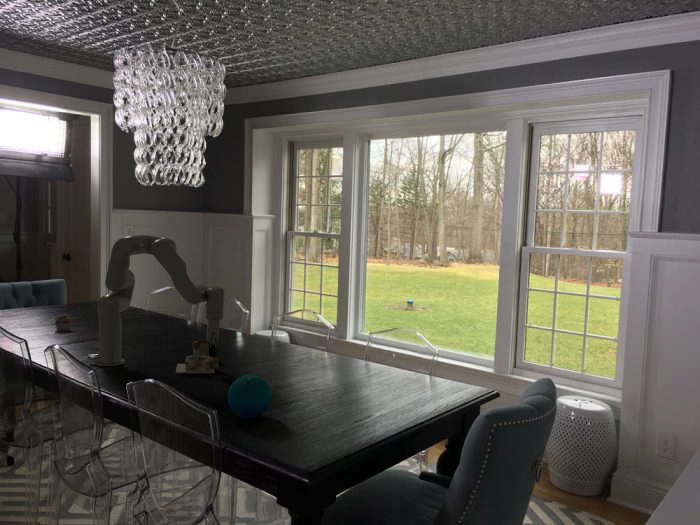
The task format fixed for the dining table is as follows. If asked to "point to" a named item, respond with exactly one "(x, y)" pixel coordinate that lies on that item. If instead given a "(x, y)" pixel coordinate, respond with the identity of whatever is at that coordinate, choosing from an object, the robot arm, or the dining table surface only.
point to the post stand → (195, 358)
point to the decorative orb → (249, 396)
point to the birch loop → (201, 363)
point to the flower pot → (204, 348)
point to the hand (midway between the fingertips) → (212, 353)
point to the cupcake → (63, 323)
